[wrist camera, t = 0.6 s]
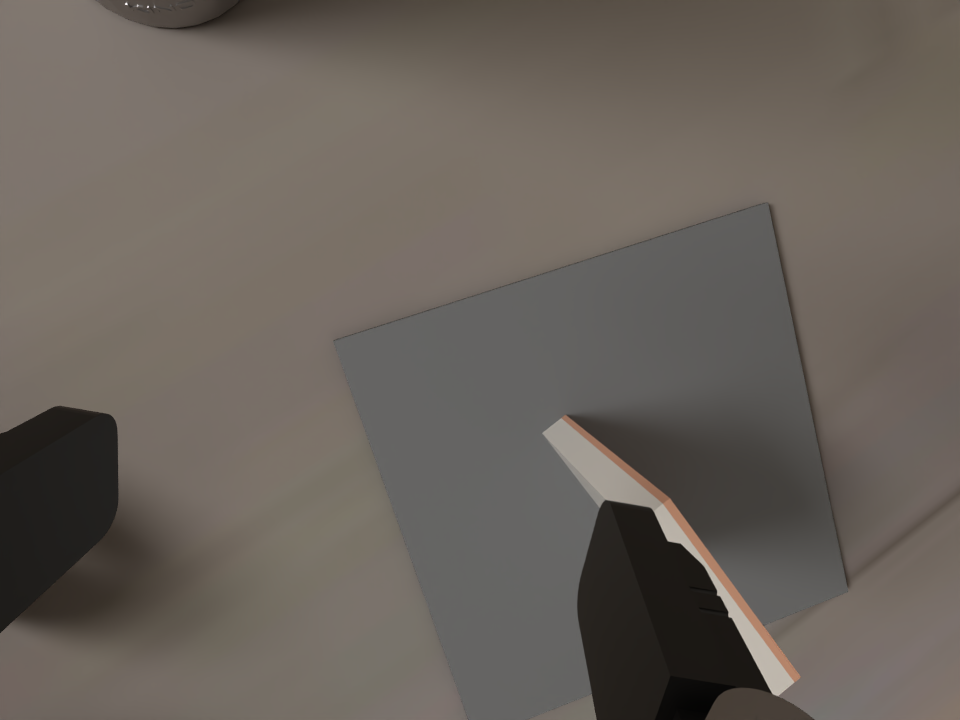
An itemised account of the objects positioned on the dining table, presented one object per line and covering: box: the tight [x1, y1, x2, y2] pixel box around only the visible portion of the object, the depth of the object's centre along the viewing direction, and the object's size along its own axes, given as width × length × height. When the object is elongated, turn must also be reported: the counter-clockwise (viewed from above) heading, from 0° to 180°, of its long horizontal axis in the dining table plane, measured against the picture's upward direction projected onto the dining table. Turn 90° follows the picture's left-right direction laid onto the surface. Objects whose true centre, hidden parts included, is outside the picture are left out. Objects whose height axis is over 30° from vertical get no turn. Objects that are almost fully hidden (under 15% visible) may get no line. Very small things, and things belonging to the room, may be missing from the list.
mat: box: [333, 203, 848, 720], centre depth 33 cm, size 24×24×1 cm
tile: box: [542, 415, 800, 696], centre depth 26 cm, size 2×9×12 cm, turn 37°
